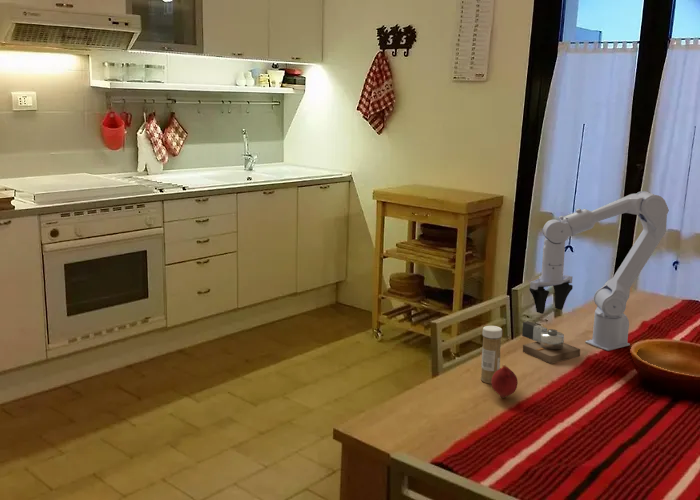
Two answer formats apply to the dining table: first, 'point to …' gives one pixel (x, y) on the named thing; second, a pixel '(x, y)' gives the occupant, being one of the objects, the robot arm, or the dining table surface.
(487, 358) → the sprinkles bottle
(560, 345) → the lever handle
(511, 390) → the onion
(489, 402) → the dining table surface
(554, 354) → the walnut base
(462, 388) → the dining table surface
